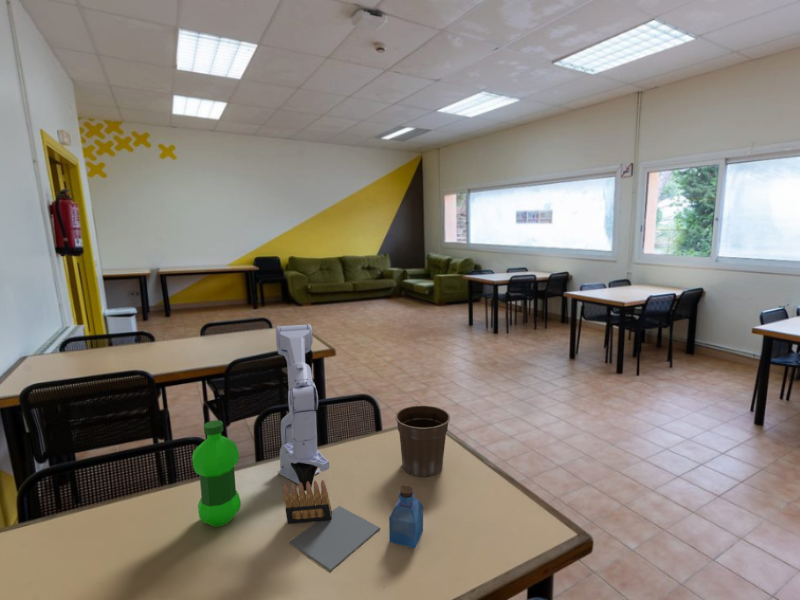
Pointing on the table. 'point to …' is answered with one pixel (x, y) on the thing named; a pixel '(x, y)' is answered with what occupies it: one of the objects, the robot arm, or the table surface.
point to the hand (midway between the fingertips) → (306, 488)
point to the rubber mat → (334, 537)
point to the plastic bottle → (216, 476)
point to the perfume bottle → (406, 519)
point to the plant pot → (422, 438)
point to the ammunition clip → (307, 504)
